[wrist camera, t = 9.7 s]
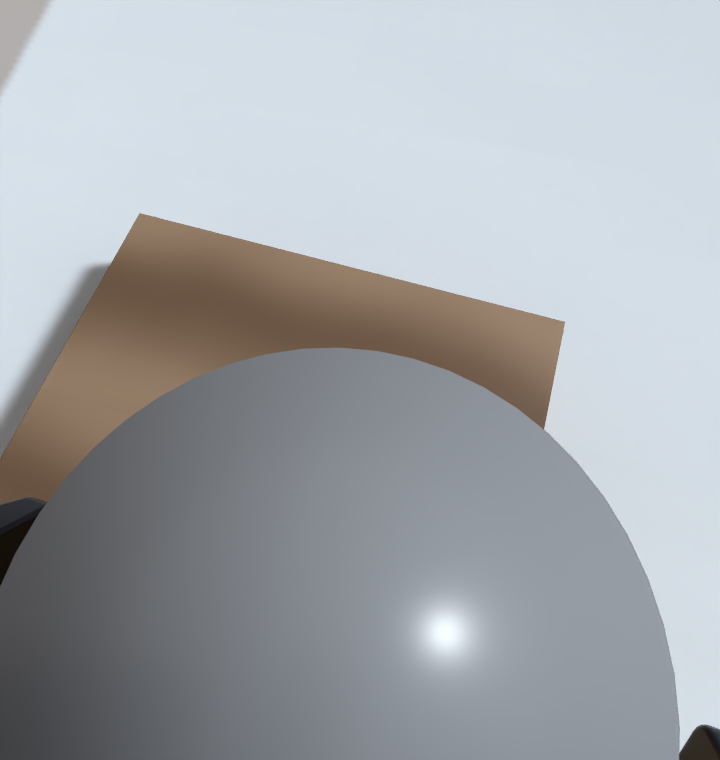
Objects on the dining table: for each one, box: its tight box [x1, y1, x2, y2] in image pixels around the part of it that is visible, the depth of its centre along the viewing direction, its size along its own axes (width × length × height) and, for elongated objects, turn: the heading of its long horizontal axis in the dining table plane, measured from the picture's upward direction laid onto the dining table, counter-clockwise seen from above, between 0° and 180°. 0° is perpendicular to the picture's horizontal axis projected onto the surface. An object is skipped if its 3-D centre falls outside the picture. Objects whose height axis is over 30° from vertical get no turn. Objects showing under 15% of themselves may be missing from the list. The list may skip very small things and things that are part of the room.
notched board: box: [0, 213, 565, 504], centre depth 16 cm, size 20×14×2 cm
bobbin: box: [0, 348, 680, 760], centre depth 10 cm, size 6×6×13 cm
